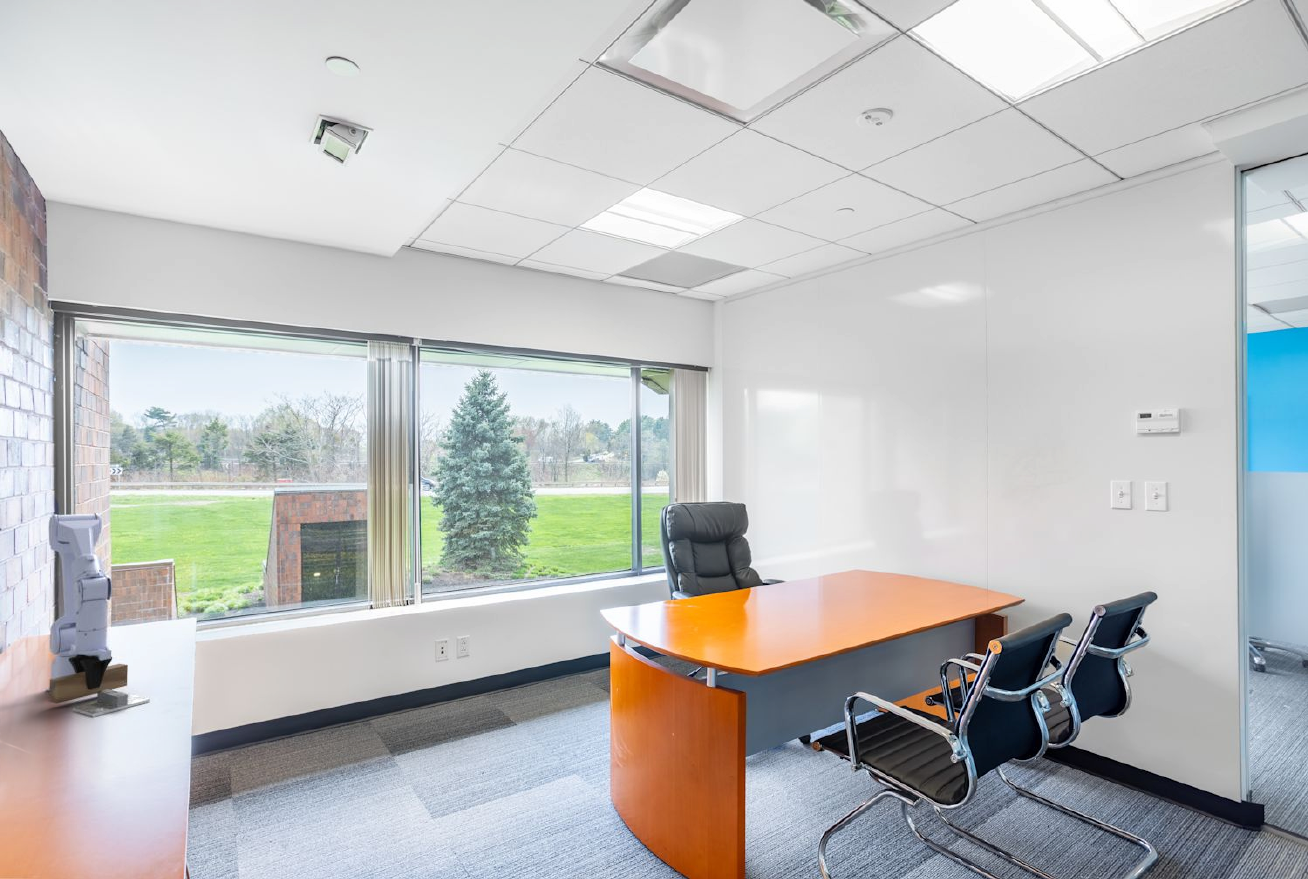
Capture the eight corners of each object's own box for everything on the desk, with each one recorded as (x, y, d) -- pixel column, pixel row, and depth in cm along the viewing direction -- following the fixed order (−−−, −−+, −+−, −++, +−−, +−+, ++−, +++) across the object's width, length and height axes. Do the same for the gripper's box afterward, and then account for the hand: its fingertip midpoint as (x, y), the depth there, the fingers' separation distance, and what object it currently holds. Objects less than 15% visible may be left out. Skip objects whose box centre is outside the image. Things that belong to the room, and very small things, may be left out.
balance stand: (73, 710, 152) (73, 697, 152) (129, 696, 161) (129, 683, 162) (93, 716, 148) (93, 702, 148) (149, 701, 157) (150, 688, 158)
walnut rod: (49, 701, 154) (49, 679, 154) (119, 684, 167) (119, 663, 167) (57, 703, 152) (57, 681, 153) (127, 685, 165) (127, 665, 165)
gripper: (55, 629, 160) (53, 687, 159) (86, 635, 153) (84, 696, 153) (91, 623, 166) (89, 679, 166) (122, 629, 160) (120, 687, 159)
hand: (89, 687), depth 160 cm, fingers closed on walnut rod, 4 cm apart
